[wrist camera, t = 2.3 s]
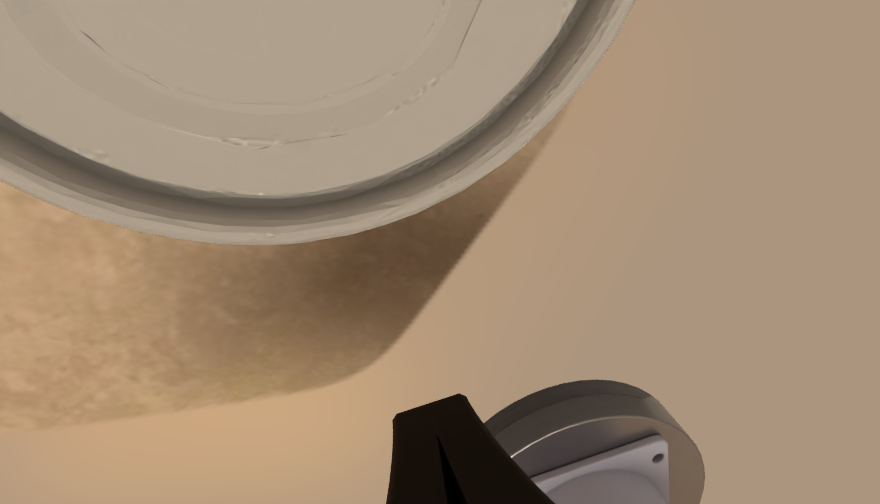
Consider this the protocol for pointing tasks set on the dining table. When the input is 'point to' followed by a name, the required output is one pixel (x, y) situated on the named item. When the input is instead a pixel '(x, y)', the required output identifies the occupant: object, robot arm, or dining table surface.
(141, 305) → the dining table surface
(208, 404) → the dining table surface
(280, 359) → the dining table surface
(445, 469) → the robot arm
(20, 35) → the beverage can
